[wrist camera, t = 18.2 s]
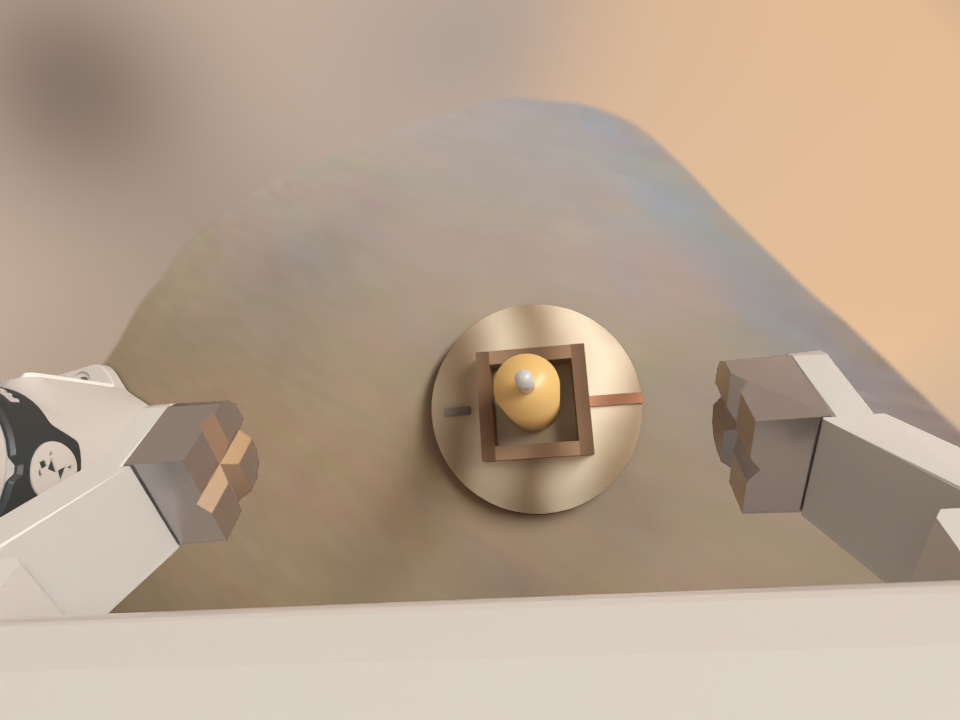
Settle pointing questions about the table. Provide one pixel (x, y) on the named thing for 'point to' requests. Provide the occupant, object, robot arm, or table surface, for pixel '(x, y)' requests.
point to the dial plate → (568, 441)
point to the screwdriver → (528, 391)
